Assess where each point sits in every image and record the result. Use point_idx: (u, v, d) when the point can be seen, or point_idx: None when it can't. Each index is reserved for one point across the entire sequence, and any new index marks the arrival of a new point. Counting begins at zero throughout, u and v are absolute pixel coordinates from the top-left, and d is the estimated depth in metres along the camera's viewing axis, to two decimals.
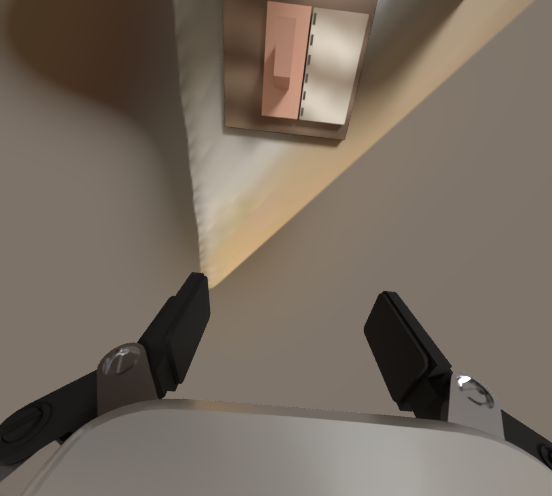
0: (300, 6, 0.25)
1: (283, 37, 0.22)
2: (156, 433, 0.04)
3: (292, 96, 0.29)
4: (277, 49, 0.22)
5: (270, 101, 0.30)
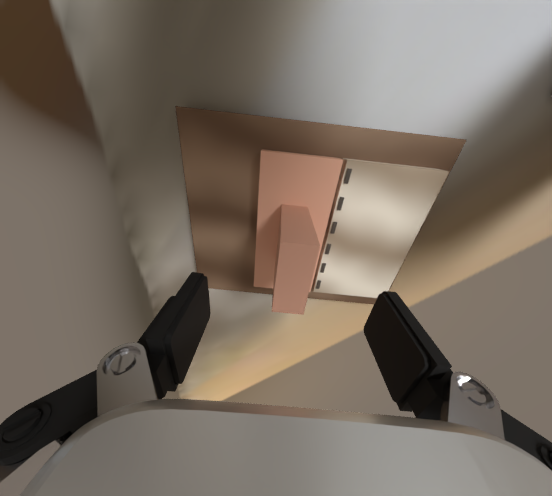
0: (322, 159, 0.13)
1: (291, 269, 0.11)
2: (156, 433, 0.04)
3: None
4: (279, 283, 0.11)
5: (267, 273, 0.18)
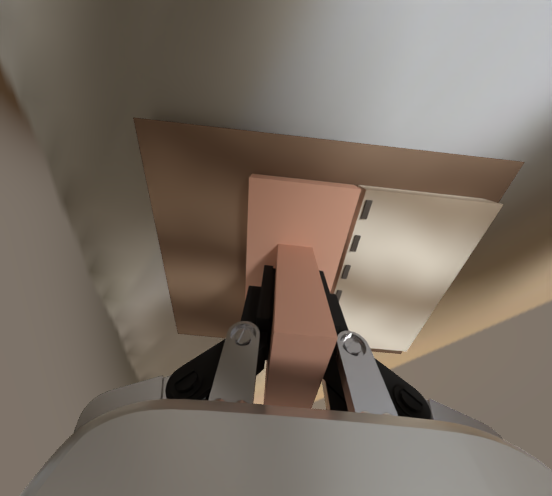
0: (332, 188, 0.10)
1: (292, 365, 0.07)
2: (156, 433, 0.04)
3: None
4: (273, 381, 0.07)
5: None
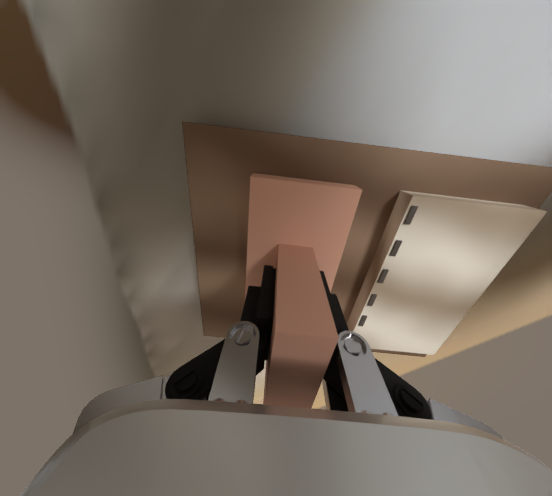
0: (334, 189, 0.10)
1: (292, 364, 0.07)
2: (156, 433, 0.04)
3: None
4: (273, 380, 0.07)
5: None
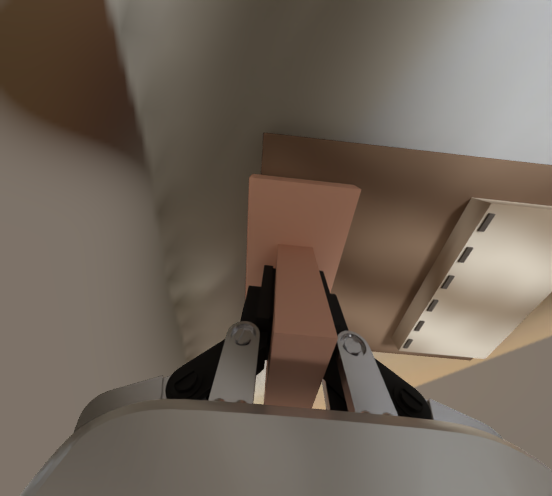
0: (332, 189, 0.10)
1: (292, 365, 0.07)
2: (156, 433, 0.04)
3: None
4: (273, 381, 0.07)
5: None
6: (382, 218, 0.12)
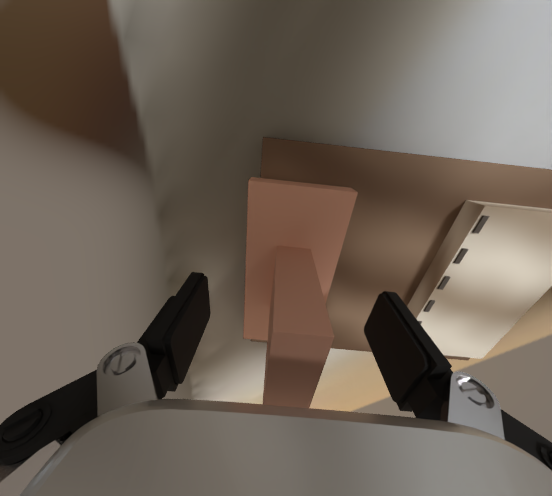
0: (330, 191, 0.10)
1: (290, 363, 0.07)
2: (156, 433, 0.04)
3: None
4: (272, 379, 0.08)
5: (260, 323, 0.15)
6: (379, 220, 0.12)
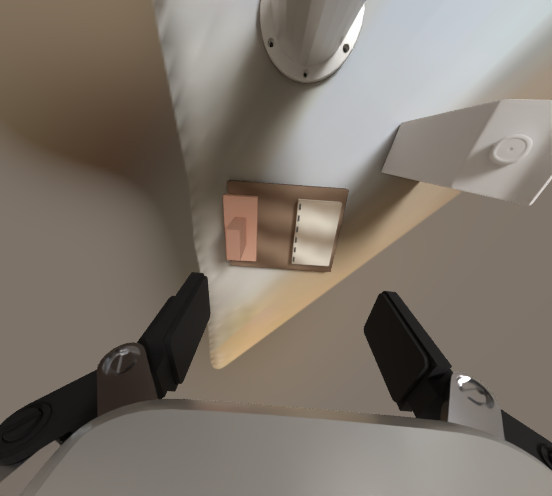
0: (248, 197, 0.32)
1: (231, 240, 0.29)
2: (156, 433, 0.04)
3: (249, 248, 0.36)
4: (228, 246, 0.29)
5: None
6: (271, 207, 0.34)
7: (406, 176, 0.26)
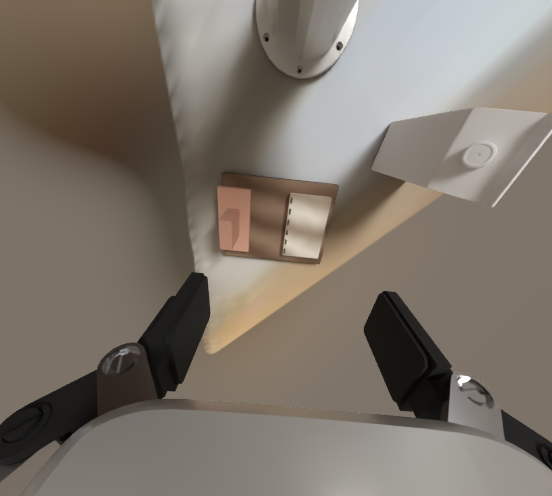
0: (242, 190, 0.33)
1: (224, 230, 0.30)
2: (156, 433, 0.04)
3: (242, 239, 0.38)
4: (220, 236, 0.31)
5: None
6: (264, 200, 0.35)
7: (391, 175, 0.27)
